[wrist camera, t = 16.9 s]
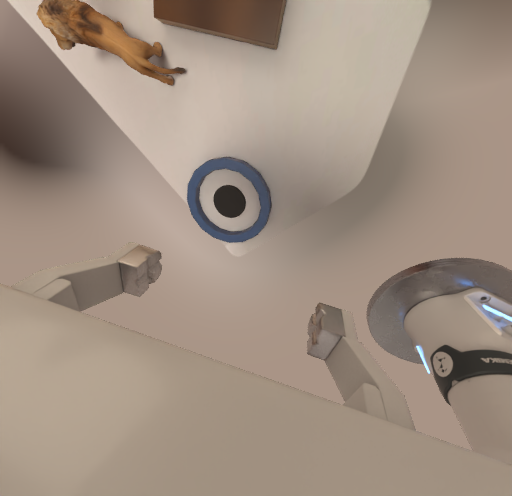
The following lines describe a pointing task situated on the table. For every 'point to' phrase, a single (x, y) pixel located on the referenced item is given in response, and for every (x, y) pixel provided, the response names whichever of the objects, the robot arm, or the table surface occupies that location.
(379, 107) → the table surface
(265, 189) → the ring
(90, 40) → the lion figurine
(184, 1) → the platform
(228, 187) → the mat
